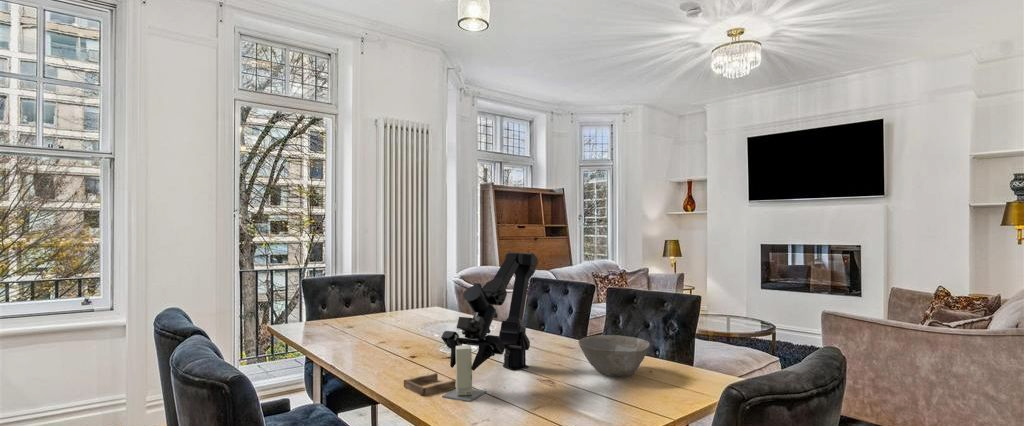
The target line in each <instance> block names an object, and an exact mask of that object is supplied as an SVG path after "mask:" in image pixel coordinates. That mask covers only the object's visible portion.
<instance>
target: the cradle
mask: <svg viewBox="0 0 1024 426" xmlns="http://www.w3.org/2000/svg"><path fill="white" fill-rule="evenodd" d="M438 377H439V376H438V373H436V372H435V373H430V374H426V375H420V376H417V377H413V378H412V377H411V378H408V379H404V380H403V388H404V389H407V390H409V391H411V392H414V393H415V394H417V395H419V396H422V397H425V396H428V395H432V394H437V393H441V392H445V391H449V390H452V389H453V390H454V389H456V380H449V381H445V382H440V383H436V384H433V385H431V384H430V385H428V386H422V385H423V384H427V383H431V382H436V381H439V380H438Z"/></svg>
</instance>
